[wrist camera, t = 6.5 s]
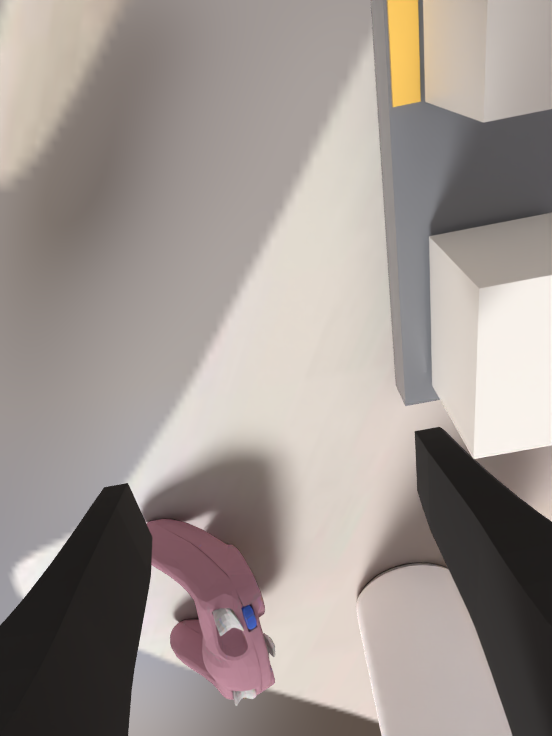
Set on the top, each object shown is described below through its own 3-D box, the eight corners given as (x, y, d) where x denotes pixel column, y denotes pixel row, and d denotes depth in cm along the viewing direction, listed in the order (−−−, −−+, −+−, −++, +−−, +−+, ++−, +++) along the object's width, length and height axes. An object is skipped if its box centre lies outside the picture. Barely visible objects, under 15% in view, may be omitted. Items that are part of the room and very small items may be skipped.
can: (360, 561, 29) (429, 849, 19) (476, 556, 29) (605, 835, 19) (348, 630, 32) (401, 906, 22) (452, 625, 33) (551, 893, 22)
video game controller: (237, 599, 32) (299, 702, 27) (167, 639, 31) (218, 757, 25) (213, 481, 27) (284, 581, 22) (127, 521, 25) (182, 640, 20)
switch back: (552, 212, 17) (635, 259, 14) (536, 366, 20) (599, 436, 17) (429, 236, 17) (478, 288, 14) (432, 385, 20) (473, 459, 17)
